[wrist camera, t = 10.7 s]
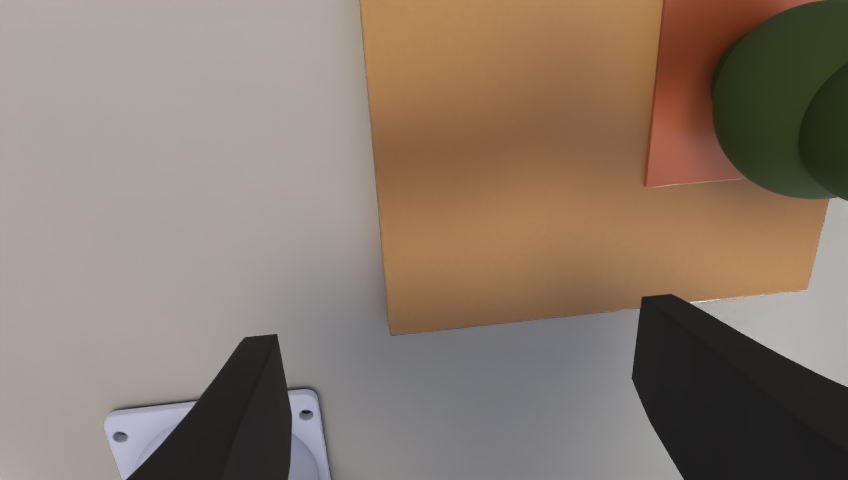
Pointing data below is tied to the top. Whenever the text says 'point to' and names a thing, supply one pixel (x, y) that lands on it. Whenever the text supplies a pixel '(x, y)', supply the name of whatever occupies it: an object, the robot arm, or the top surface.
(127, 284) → the top surface
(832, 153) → the avocado
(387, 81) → the board
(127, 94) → the top surface
